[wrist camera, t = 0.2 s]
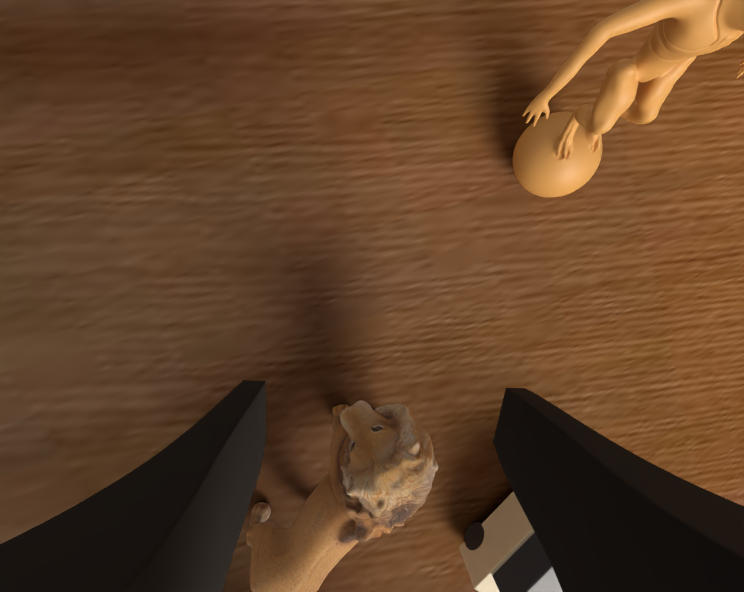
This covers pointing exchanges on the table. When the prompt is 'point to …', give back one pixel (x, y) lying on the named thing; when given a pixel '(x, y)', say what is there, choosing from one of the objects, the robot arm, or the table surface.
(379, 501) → the lion figurine
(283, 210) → the table surface
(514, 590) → the toy car
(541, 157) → the figurine
